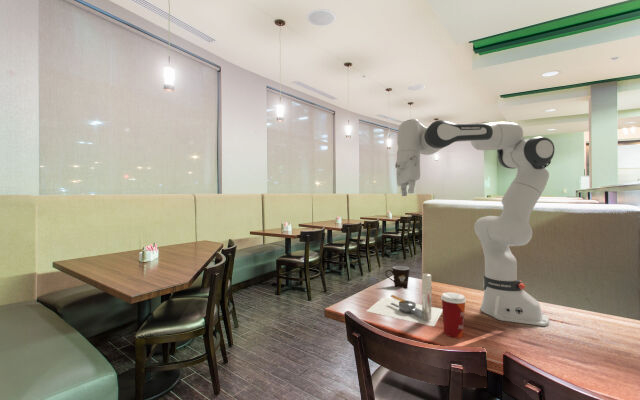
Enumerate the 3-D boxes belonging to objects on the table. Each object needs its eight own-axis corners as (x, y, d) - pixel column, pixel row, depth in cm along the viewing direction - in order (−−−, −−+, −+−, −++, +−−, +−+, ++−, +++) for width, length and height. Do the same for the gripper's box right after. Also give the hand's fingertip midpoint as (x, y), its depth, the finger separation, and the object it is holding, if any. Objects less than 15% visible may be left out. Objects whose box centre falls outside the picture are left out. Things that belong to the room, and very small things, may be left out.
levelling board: (443, 312, 118) (443, 308, 118) (434, 329, 102) (434, 325, 102) (382, 300, 132) (382, 296, 132) (365, 314, 116) (365, 310, 116)
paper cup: (469, 343, 92) (469, 300, 92) (443, 341, 94) (443, 298, 93) (462, 332, 100) (462, 292, 100) (438, 330, 101) (438, 290, 101)
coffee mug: (411, 286, 153) (411, 267, 153) (406, 290, 146) (406, 270, 146) (390, 282, 159) (390, 264, 159) (384, 286, 152) (384, 267, 152)
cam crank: (386, 304, 122) (386, 265, 122) (397, 301, 125) (397, 263, 125) (423, 322, 104) (423, 276, 104) (436, 319, 107) (436, 274, 107)
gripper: (425, 154, 104) (424, 191, 103) (409, 166, 125) (408, 197, 124) (407, 153, 105) (406, 191, 103) (394, 165, 125) (393, 197, 124)
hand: (407, 194), depth 114 cm, fingers open, 8 cm apart
